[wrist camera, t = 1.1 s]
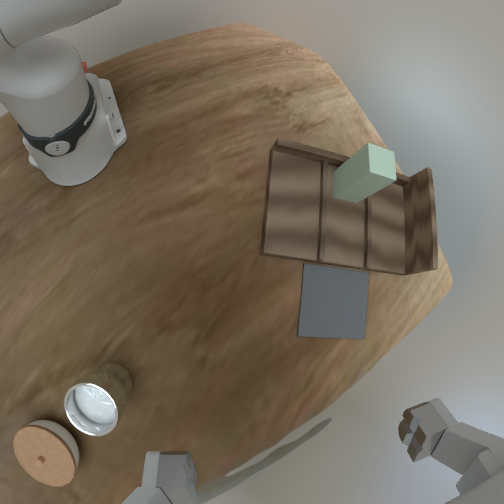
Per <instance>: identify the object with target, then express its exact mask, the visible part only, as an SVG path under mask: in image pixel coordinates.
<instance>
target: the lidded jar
mask: <svg viewBox="0 0 504 504" xmlns="http://www.w3.org/2000/svg"><path fill="white" fill-rule="evenodd" d="M13 446H14V451H15V455H16V457H17V459H18V461H19V463H20V464H21V466H22V467H23V468H24V469H25V471H26V472H27V473H28V474H30V475H31V476H32V477H33V478H35V479H36V480H38V481H39V482H42V483H44V484H47V485H50V486H64V485H66V484H68V483H69V482H70V481H71V480H72V479H73V477H74V475H75V472H76V470H77V467H78V464H79V450H78V446H77V443H76V441H75V439H74V438H73V436H72V435H71V434H70V433H69V431H68V430H66V429H65V428H64V427H63V426H61V425H59V424H58V423H55V422H53V421H49V420H38V421H34V422H31V423H29V424H27V425H26V426H24V427H22V428H21V429H20V430H18V431H17V433H16V434H15V437H14V441H13Z"/></svg>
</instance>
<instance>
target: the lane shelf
mask: <svg viewBox="0 0 504 504" xmlns="http://www.w3.org/2000/svg"><path fill="white" fill-rule="evenodd" d="M349 158H350V157H347V156H343V155H340V154H336V153H333V152H329V151H326V150H322V149H318V148H315V147H311V146H307V145H303V144H299V143H295V142H291V141H287V140H283V139H279V138H278V139H277V141H276V142H275V144H274V145H273V147H272V148H271V150H270V159H269V170H268V180H267V191H266V201H265V211H264V222H263V232H262V242H261V252H260V255H267V256H274V257H280V258H287V259H294V260H301V261H308V262H315V263H321V264H328V265H335V266H342V267H349V268H356V269H363V270H369V271H376V272H383V273H390V274H397V275H408V274H413V273H419V272H425V271H430V270H436V269H438V253H437V225H436V210H435V197H434V187H433V178H432V170H431V169H430V168H425V169H423V170H422V171H420V172H418V173H416V174H415V175H413V176H411V177H408V176H405V175H402V174H399V173H396V181H395V182H393V183H391V184H389V185H388V186H386V187H384V188H383V189H381V190H379V191H377V192H376V193H374V194H372V195H370V196H369V197H367V198H365V199H363V200H362V201H360V202H358V203H354V202H349V201H345V200H341V199H337V198H333V172H334V171H335V170H336V169H337V168H339V167H340V166H341V165H342V164H343V163H345V162H346V161H347V160H348V159H349Z"/></svg>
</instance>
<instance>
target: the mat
mask: <svg viewBox="0 0 504 504" xmlns="http://www.w3.org/2000/svg"><path fill="white" fill-rule="evenodd" d="M368 283H369V273H368V272H361V271H354V270H347V269H340V268H333V267H326V266H319V265H312V264H305V263H304V264H303V276H302V289H301V300H300V311H299V321H298V331H297V336H304V337H324V338H352V339H364V337H365V326H366V314H367V300H368Z"/></svg>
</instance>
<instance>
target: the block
mask: <svg viewBox="0 0 504 504" xmlns="http://www.w3.org/2000/svg"><path fill="white" fill-rule="evenodd" d="M395 181H396V168H395V157H394V152H392V151H390V150H387V149H384V148H382V147H379V146H376V145H373V144H370V143H367V144H366V145H365V146H364V147H363V148H361V149H360V150H359V151H358V152H357V153H355V154H354V155H353V156H352V157H351V158H349V159H348V160H347V161H346V162H345V163H343V164H342V165H341V166H340V167H339V168H337V169H336V170H335V171H334V172H333V198H337V199H341V200H345V201H349V202H354V203H358V202H360V201H362V200H363V199H365V198H367V197H369V196H370V195H372V194H374V193H376V192H377V191H379V190H381V189H383V188H384V187H386V186H388V185H389V184H391V183H393V182H395Z"/></svg>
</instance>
